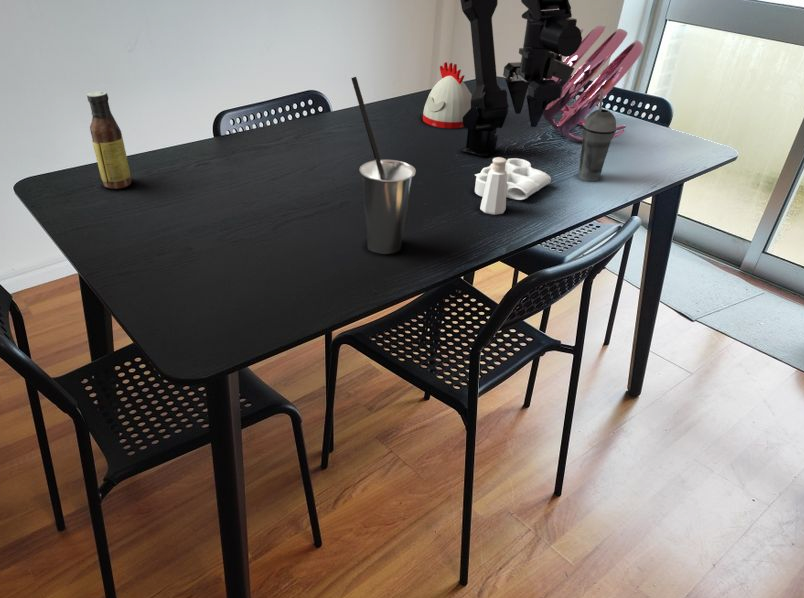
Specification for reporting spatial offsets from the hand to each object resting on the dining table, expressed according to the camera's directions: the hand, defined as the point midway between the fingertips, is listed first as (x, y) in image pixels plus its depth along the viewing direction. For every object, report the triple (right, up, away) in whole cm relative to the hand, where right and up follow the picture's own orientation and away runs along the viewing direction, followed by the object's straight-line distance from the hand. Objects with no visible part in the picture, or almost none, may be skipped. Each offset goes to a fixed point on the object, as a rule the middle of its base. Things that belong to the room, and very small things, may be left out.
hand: (525, 120), depth 158 cm
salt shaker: (-9, -22, -7) cm, 24 cm away
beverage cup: (+16, -11, +8) cm, 21 cm away
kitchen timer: (-12, +13, +40) cm, 43 cm away
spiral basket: (+21, +7, +32) cm, 39 cm away
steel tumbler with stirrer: (-33, -31, -22) cm, 50 cm away
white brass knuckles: (-3, -14, +3) cm, 15 cm away
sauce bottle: (-91, -15, 0) cm, 92 cm away
